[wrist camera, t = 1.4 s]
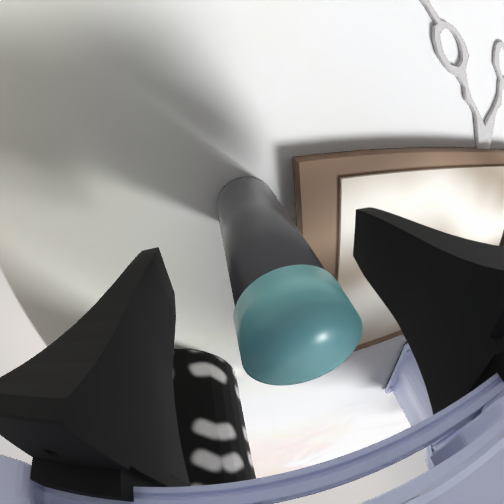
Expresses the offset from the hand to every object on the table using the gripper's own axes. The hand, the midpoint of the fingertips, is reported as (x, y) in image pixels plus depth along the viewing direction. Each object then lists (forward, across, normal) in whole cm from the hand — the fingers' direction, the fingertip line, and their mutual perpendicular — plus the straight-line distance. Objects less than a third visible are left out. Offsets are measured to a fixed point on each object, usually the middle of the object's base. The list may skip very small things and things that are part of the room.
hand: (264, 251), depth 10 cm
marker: (+5, 0, 0) cm, 5 cm away
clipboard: (+4, -15, +6) cm, 16 cm away
